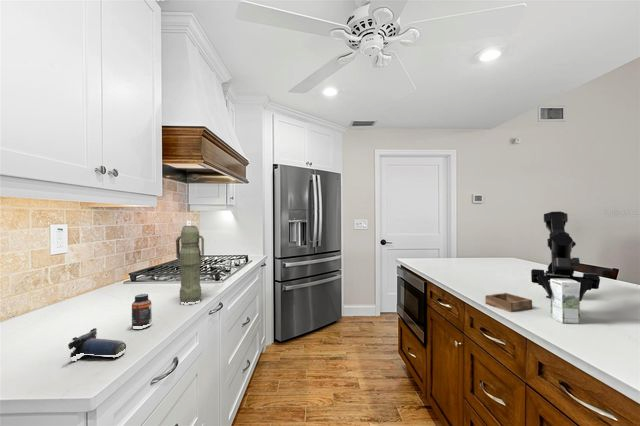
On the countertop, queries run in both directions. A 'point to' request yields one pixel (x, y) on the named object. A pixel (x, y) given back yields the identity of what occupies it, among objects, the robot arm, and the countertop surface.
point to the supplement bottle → (141, 310)
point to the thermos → (190, 263)
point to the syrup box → (565, 301)
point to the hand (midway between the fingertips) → (565, 298)
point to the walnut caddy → (508, 302)
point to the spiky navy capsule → (95, 345)
